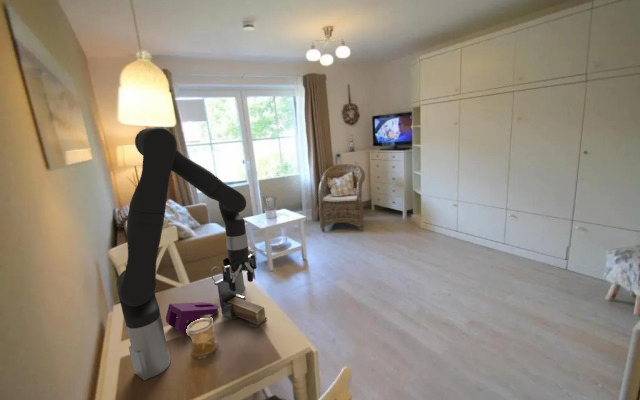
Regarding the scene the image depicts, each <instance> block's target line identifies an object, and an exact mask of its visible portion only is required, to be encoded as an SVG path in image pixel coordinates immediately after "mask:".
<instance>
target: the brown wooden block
mask: <svg viewBox="0 0 640 400" xmlns="http://www.w3.org/2000/svg"><path fill="white" fill-rule="evenodd" d="M245 300H246V299H245ZM245 300H243V299H240V298H237V297H235V298H233V299H231V300H230V301H228V304H231V305H232V309H233V315H235V316H237V317H238V318H241V319H243V320H246V321H248V322H249V323H251V322H252V323H255V324H257V325H258V324H260V323H261V322H262V321H264V320H265V319H266V318H267V317H266V311H265V307H264V306H262V305H259V304H257V303H253V302H251V301H248V300H246V301H245ZM265 317H266V318H265ZM265 321H266V320H265ZM265 321H264V322H265ZM260 325H261V324H260Z"/></svg>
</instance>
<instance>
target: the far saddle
mask: <svg viewBox="0 0 640 400" xmlns="http://www.w3.org/2000/svg"><path fill="white" fill-rule="evenodd" d="M265 318H266V319H267V320H268V318H267V316H265ZM266 319H265V320H264V321H262V322H263V323H264V322H265V321H267V320H266ZM262 322H261V323H262ZM261 323H260V324H258V325H257V324H255V323H252V322H249V327H251V326H252V328H254V329H256V328H258V327H259V326H260V325H262V324H263V323H262V324H261Z"/></svg>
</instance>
